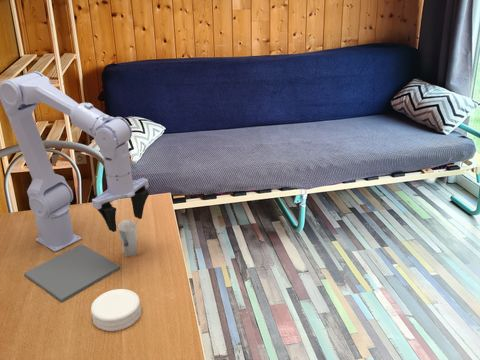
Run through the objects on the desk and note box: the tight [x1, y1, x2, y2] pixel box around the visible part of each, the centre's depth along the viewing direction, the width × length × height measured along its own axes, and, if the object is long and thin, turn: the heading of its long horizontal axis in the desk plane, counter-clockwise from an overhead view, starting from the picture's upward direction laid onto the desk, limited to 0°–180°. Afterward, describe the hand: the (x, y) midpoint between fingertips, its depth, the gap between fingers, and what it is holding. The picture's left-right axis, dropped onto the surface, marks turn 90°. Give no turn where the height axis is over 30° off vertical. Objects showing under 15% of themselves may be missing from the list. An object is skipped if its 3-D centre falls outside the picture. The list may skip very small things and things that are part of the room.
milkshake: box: [117, 219, 139, 258], centre depth 125 cm, size 5×5×10 cm
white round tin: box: [90, 288, 142, 332], centre depth 106 cm, size 10×10×4 cm
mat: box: [23, 243, 122, 303], centre depth 121 cm, size 16×16×1 cm
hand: (125, 223), depth 121 cm, fingers open, 7 cm apart
